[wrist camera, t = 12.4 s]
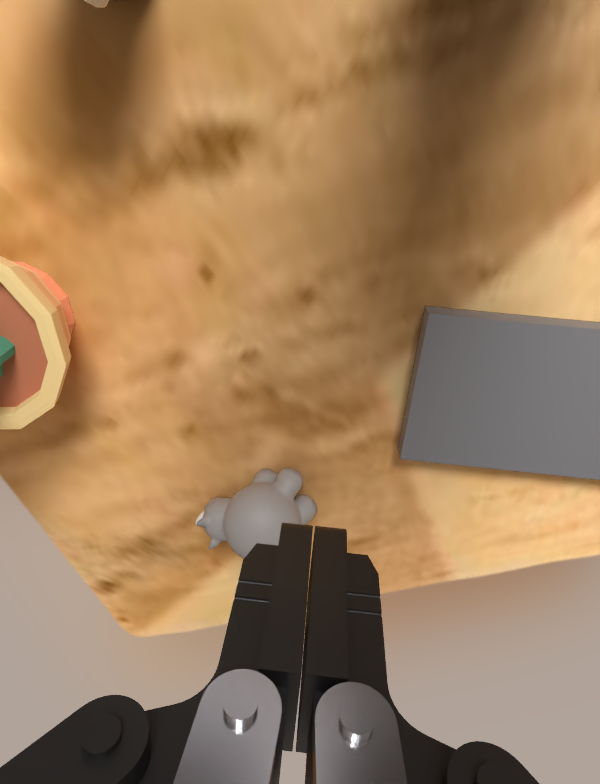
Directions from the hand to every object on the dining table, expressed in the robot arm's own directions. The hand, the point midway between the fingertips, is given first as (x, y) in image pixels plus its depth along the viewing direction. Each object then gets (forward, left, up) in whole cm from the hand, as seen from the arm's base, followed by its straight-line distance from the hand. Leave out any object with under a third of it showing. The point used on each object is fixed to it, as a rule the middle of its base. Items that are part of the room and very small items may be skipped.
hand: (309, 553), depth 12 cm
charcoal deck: (+10, +18, -32) cm, 38 cm away
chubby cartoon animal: (+24, -6, -32) cm, 41 cm away
